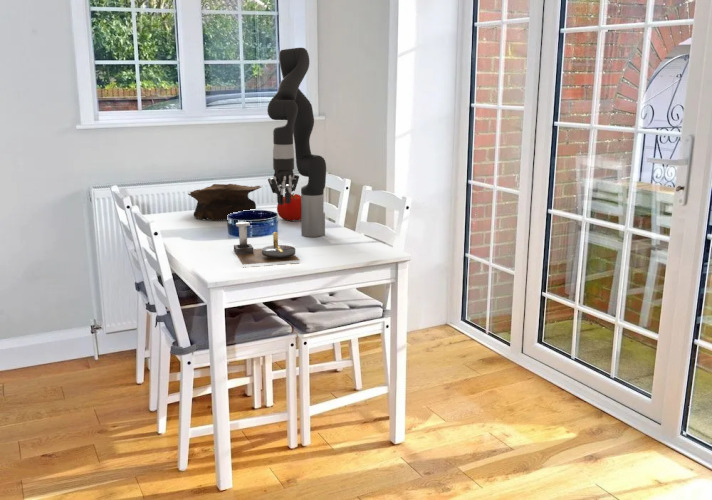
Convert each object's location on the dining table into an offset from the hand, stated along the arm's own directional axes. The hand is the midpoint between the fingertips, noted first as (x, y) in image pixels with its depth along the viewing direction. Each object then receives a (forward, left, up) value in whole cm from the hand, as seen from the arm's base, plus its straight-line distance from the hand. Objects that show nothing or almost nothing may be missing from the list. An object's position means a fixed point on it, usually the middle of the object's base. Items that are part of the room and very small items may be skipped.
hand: (284, 203), depth 258 cm
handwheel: (+4, +7, -17) cm, 19 cm away
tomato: (-17, -59, -19) cm, 64 cm away
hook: (+15, -3, -18) cm, 23 cm away
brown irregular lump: (+10, -80, -20) cm, 83 cm away
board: (+8, +4, -19) cm, 21 cm away
